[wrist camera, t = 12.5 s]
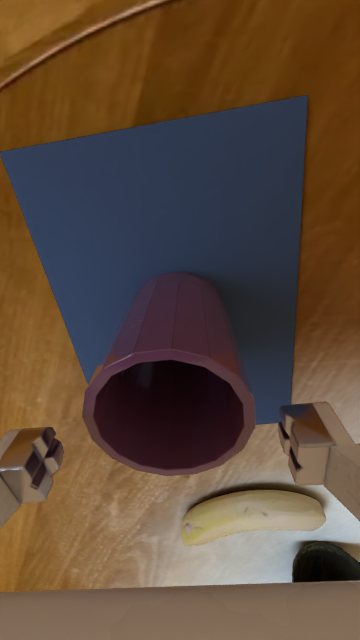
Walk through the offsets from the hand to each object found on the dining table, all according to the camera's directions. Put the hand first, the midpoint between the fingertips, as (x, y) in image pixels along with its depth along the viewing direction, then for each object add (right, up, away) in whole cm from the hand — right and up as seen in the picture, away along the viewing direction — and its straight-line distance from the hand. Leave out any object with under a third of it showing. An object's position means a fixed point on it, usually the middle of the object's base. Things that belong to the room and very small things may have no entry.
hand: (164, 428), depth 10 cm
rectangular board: (0, +4, +9) cm, 10 cm away
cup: (0, +4, +9) cm, 10 cm away
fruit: (+8, -16, +20) cm, 27 cm away
